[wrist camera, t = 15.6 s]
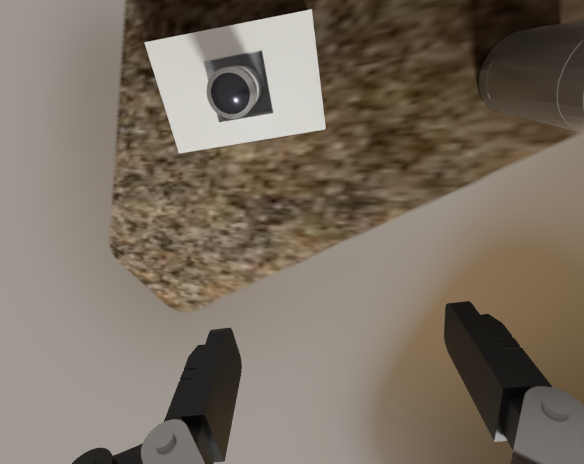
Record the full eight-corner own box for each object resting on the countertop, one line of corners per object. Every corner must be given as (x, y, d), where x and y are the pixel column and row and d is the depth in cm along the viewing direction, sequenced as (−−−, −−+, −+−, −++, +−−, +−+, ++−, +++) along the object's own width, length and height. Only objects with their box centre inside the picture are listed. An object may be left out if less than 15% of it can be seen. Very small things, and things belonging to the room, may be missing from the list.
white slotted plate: (310, 15, 39) (311, 9, 34) (322, 122, 44) (325, 129, 39) (161, 44, 40) (144, 42, 36) (190, 144, 46) (179, 153, 41)
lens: (259, 62, 39) (249, 63, 30) (265, 103, 41) (258, 115, 32) (221, 67, 39) (200, 70, 30) (229, 108, 41) (212, 122, 32)
